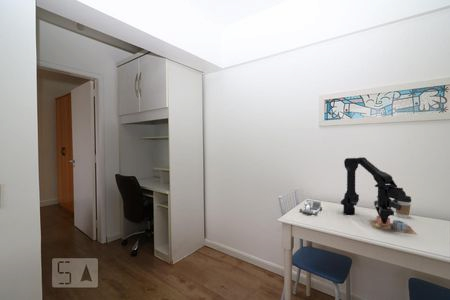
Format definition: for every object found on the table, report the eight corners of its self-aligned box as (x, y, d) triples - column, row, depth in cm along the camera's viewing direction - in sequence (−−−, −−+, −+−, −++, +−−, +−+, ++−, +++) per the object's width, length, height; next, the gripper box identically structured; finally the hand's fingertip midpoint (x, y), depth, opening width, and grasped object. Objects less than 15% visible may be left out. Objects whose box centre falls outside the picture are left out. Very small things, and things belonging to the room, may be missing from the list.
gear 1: (377, 224, 123) (377, 218, 123) (375, 220, 128) (375, 215, 128) (390, 226, 120) (391, 220, 120) (388, 222, 126) (388, 216, 125)
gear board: (372, 230, 121) (372, 221, 121) (368, 222, 133) (368, 214, 132) (417, 237, 112) (418, 227, 112) (409, 228, 124) (409, 219, 124)
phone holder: (315, 203, 143) (298, 200, 150) (315, 217, 143) (298, 214, 150) (322, 197, 156) (306, 195, 164) (322, 210, 157) (306, 207, 164)
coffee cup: (412, 222, 133) (413, 198, 132) (395, 219, 137) (395, 197, 136) (409, 217, 140) (410, 195, 139) (393, 215, 144) (393, 193, 143)
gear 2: (398, 230, 118) (398, 224, 118) (390, 225, 124) (390, 220, 124) (409, 230, 117) (410, 224, 117) (401, 225, 124) (401, 220, 123)
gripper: (406, 201, 111) (405, 230, 112) (396, 193, 128) (395, 218, 129) (380, 199, 116) (380, 226, 117) (374, 191, 133) (373, 215, 134)
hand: (382, 221), depth 124 cm, fingers closed on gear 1, 6 cm apart
